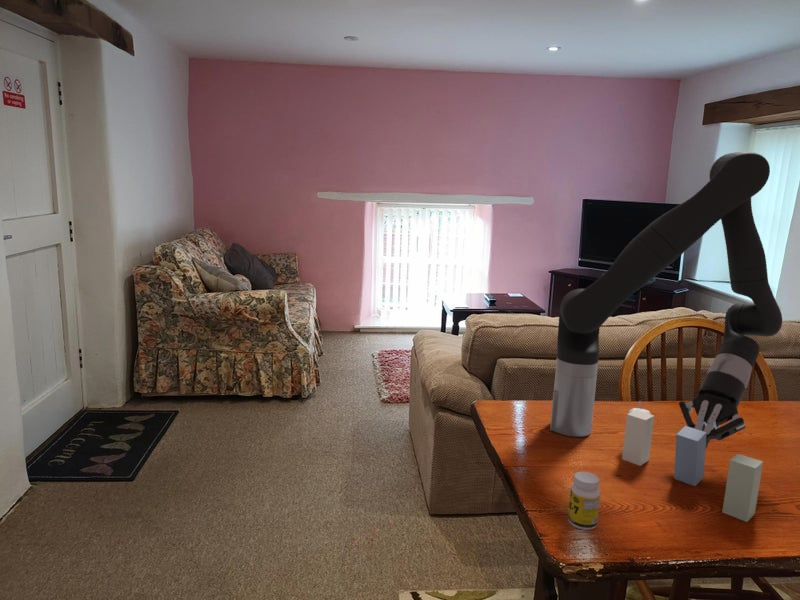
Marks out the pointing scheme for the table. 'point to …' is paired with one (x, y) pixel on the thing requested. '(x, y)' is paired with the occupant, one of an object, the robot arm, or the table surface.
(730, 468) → the sage block
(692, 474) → the slate blue block
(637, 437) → the cream block
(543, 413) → the table surface
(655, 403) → the table surface
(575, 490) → the supplement bottle
